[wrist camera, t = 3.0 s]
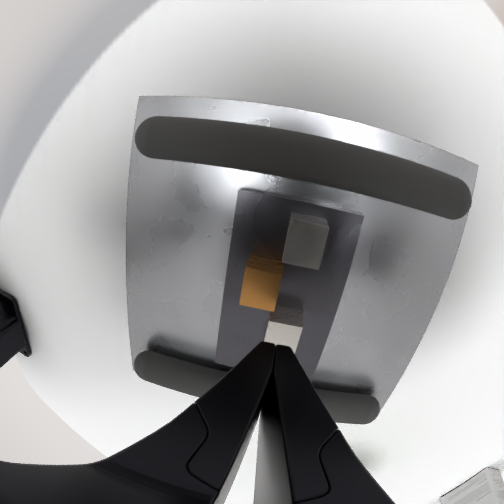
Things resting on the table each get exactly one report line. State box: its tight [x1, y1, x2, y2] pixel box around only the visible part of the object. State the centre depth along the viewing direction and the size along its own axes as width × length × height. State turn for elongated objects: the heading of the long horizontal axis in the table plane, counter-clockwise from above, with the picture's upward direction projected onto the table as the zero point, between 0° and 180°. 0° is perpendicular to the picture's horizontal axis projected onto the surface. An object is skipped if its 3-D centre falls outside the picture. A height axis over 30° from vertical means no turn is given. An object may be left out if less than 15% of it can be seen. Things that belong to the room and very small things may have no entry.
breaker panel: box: [126, 96, 478, 412], centre depth 12 cm, size 14×14×4 cm
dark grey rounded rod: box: [134, 350, 380, 424], centre depth 13 cm, size 13×2×2 cm, turn 81°
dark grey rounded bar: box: [135, 116, 472, 220], centre depth 9 cm, size 13×2×2 cm, turn 81°
